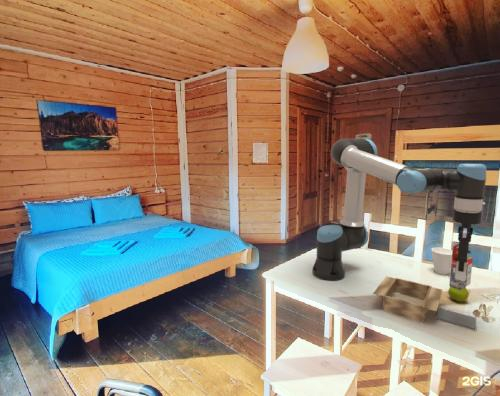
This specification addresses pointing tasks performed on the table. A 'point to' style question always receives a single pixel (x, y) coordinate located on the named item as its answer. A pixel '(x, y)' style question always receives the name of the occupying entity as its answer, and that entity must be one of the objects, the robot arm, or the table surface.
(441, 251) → the cup
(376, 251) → the table surface
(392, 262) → the table surface
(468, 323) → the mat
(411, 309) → the carton
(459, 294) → the fruit
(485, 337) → the table surface
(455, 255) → the ink box
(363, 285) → the table surface
